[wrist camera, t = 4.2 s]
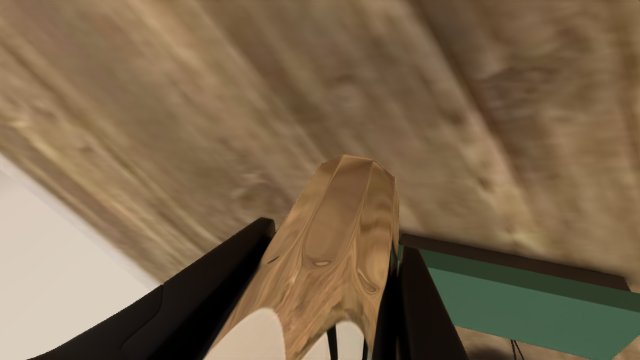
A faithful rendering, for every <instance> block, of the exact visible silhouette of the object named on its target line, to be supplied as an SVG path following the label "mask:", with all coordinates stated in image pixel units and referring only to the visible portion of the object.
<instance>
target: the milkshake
mask: <svg viewBox="0 0 640 360" xmlns="http://www.w3.org/2000/svg"><path fill="white" fill-rule="evenodd" d="M398 238H399V197H398V192H397V187H396V181H395V177H394V176H393V175H392V174H390V173H389V172H388V171H387V170H386V169H385V168H383V167H382V166H381V165H380V164H379V163H378V162H377V161H375V160H374V159H372V158H366V157H360V156H354V155H348V154H343V155H341V156H339V157H336V158H334V159H332V160H330V161H327V162H325V163H323V164H321V165H320V166H319V168H318V169H317V171H316V172H315V174H314V175H313V177H312V178H311V180H310V181H309V183H308V184H307V186H306V187H305V189H304V190H303V192H302V193H301V195H300V197H299V198H298V200H297V201H296V203H295V204H294V206H293V207H292V209H291V210H290V212H289V213H288V215H287V216H286V218H285V219H284V221H283V222H282V224H281V225H280V227H279V228H278V230H277V231H276V233H275V234H274V236H273V237H272V239H271V240H270V242H269V243H268V245H267V246H266V248H265V249H264V251H263V252H262V254H261V255H260V257H259V258H258V260H257V261H256V263H255V264H254V266H253V267H252V268H251V270H250V271H249V273H248V274H247V276H246V277H245V278H244V280H243V281H242V283H241V284H240V285H239V287H238V288H237V289H236V291H235V292H234V294H233V295H232V297H231V298H230V299H229V301H228V302H227V304H226V305H225V306H224V308H223V309H222V311H221V312H220V313H219V315H218V316H217V318H216V319H215V320H214V322H213V323H212V325H211V326H210V327H209V329H208V330H207V332H206V333H205V334H204V336H203V337H202V339H201V340H200V342H199V343H198V344H197V346H196V347H195V349H194V350H193V351H192V353H191V354H190V356H189V357H188V358H187V360H397V338H396V291H397V277H398Z"/></svg>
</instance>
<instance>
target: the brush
mask: <svg viewBox="0 0 640 360" xmlns="http://www.w3.org/2000/svg"><path fill="white" fill-rule="evenodd" d="M405 245H407V246H412V247H417V248H418V249H419V250H420V253H421V255H422V257H423V259H424V261H425V264H426V266H427V268H428V270H429V272H430V274H431V277H432V279H433V281H434V283H435V285H436V288H437V290H438V292H439V294H440V296H441V299H442V301H443V303H444V305H445V307H446V310H447V312H448V314H449V316H450V318H451V321H452V323H453V325H454V326H458V327H463V328H467V329H471V330H475V331H479V332H483V333H487V334H491V335H495V336H499V337H503V338H507V339H511V340H515V341H520V342H524V343H528V344H532V345H536V346H540V347H544V348H548V349H552V350H556V351H560V352H564V353H568V354H572V355H576V356H581V357H585V358H589V359H593V360H611V359H612V358H614V357H615V356H616V355H617V354H618V353H619V352H620V351H622V350H623V349H624V348H625V347H626V346H627V345H628V344H630V343H631V342H632V341H633V340H634V339H635V338H636V337H638V336H639V335H640V294H638V293H634V292H631V291H630V289H629V287H628V285H627V283H626V282H625V280H624V278H623V277H619V276H614V275H608V274H603V273H598V272H593V271H588V270H583V269H578V268H573V267H568V266H563V265H558V264H553V263H548V262H543V261H538V260H533V259H527V258H522V257H517V256H512V255H507V254H502V253H497V252H492V251H487V250H482V249H477V248H472V247H467V246H462V245H457V244H452V243H447V242H441V241H436V240H431V239H426V238H421V237H416V236H411V235H406V234H403V235H402V239H401V244H400V245H399V244H398V267H399V262H400V257H401V253H402V248H403V246H405Z"/></svg>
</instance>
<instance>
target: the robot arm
mask: <svg viewBox="0 0 640 360" xmlns="http://www.w3.org/2000/svg"><path fill="white" fill-rule="evenodd" d="M275 233H276V232H275V223H274V220H273V219H269V218H264V217H261V218H258V219H257V220H256V221H254V222H253V223H251V224H250V225H248V226H247V227H245V228H244V229H242V230H241V231H239V232H238V233H236V234H235V235H233V236H232V237H231V238H229V239H228V240H226V241H225V242H223V243H222V244H220V245H219V246H217V247H216V248H214V249H213V250H211V251H210V252H209V253H207V254H206V255H204V256H203V257H201V258H200V259H198V260H197V261H195V262H194V263H192V264H191V265H189V266H188V267H187V268H185V269H184V270H182V271H181V272H179V273H178V274H176V275H175V276H173V277H172V278H170V279H169V280H167V281H166V282H165V283H164V285H160V286H158V287H157V288H156V289H154V290H153V291H151V292H150V293H148V294H147V295H145V296H144V297H142V298H141V299H139V300H137V301H136V302H134V303H133V304H131V305H130V306H128V307H126V308H125V309H123V310H121V311H120V312H118V313H116V314H114V315H113V316H111V317H109V318H108V319H106V320H104V321H102V322H101V323H99V324H97V325H96V326H94V327H92V328H90V329H89V330H87V331H85V332H83V333H82V334H80V335H78V336H76V337H75V338H73V339H71V340H70V341H68V342H66V343H64V344H62V345H61V346H59V347H57V348H55V349H53V350H51V351H49V352H46V353H45V354H42V355H39V356H36V357H34V358H31V359H27V360H187V358H188V357H189V356H190V354H191V353H192V351H193V350H194V349H195V347H196V346H197V344H198V343H199V342H200V340H201V339H202V337H203V336H204V334H205V333H206V332H207V330H208V329H209V327H210V326H211V325H212V323H213V322H214V320H215V319H216V318H217V316H218V315H219V313H220V312H221V311H222V309H223V308H224V306H225V305H226V304H227V302H228V301H229V299H230V298H231V297H232V295H233V294H234V292H235V291H236V289H237V288H238V287H239V285H240V284H241V283H242V281H243V280H244V278H245V277H246V276H247V274H248V273H249V271H250V270H251V268H252V267H253V266H254V264H255V263H256V261H257V260H258V258H259V257H260V255H261V254H262V252H263V251H264V249H265V248H266V246H267V245H268V243H269V242H270V240H271V239H272V237H273V236H274V234H275ZM396 338H397V360H469V358H468V356H467V353H466V351H465V349H464V347H463V345H462V342H461V340H460V338H459V336H458V334H457V331H456V329H455V327H454V325H453V323H452V321H451V318H450V316H449V314H448V312H447V310H446V307H445V305H444V303H443V301H442V299H441V296H440V294H439V292H438V290H437V288H436V285H435V283H434V281H433V279H432V277H431V274H430V272H429V270H428V268H427V266H426V264H425V261H424V259H423V257H422V255H421V253H420V250H419V249H418V248H417V247H412V246H407V245H405V246H403V248H402V253H401V257H400V262H399V267H398V277H397V291H396Z"/></svg>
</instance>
